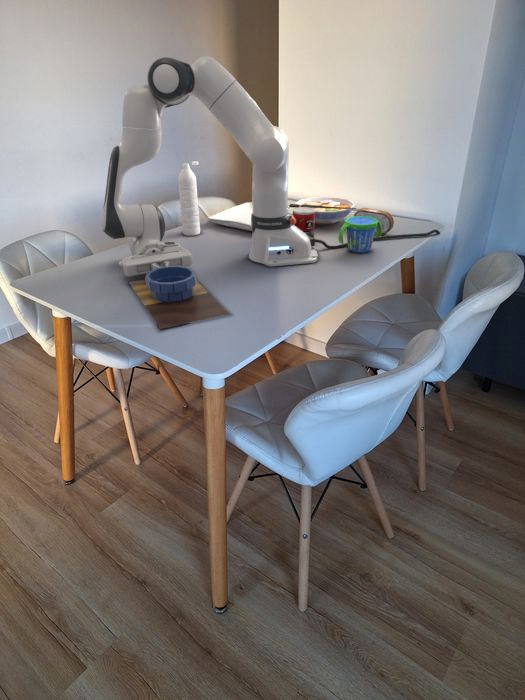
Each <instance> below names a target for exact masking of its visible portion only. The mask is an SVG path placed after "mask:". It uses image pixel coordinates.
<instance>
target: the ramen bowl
mask: <svg viewBox="0 0 525 700" xmlns="http://www.w3.org/2000/svg"><path fill="white" fill-rule="evenodd" d="M355 206H356V205H355V203H354V201H352V200H350V199H346V198H341V197H335V196H313V197H306V198H302V199H299V200H298V201H296V202H295V203H290V204H288V208H297V207H310V208H313V209H314V210H315V223H314V224H315V225H319V226H331V225H333V224H335V223H338V222H340V221H342V220H344V219H346V217H347V216H348V215H350V213H351V212H352V211H353V210H357V207H355Z"/></svg>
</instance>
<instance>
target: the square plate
mask: <svg viewBox="0 0 525 700" xmlns="http://www.w3.org/2000/svg"><path fill="white" fill-rule="evenodd" d="M293 209H294V208H291V207H288V213H290V214H291V213H292V215H293ZM252 213H253V208H252V202H249V201H248V202H244V203H241V204H239V205H236V206H232V207H230V208H227V209H225V210H222V211H220V212H217V213H215V214H212V215H210V216H207V218H206V219H208V220H209V222H212V223H213V224H216V225H222V226H223V227H228V228H234V229H238V230H243V231H248V232H252V229H251V215H252Z"/></svg>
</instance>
